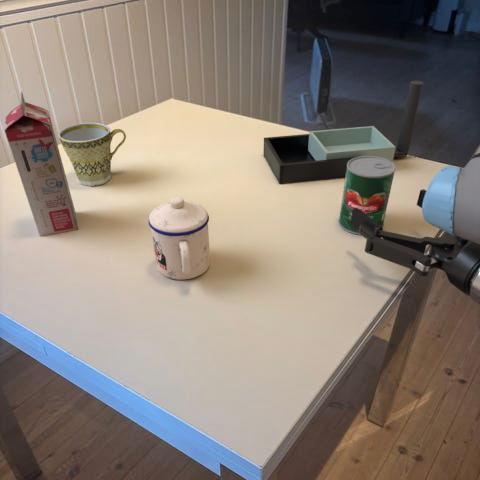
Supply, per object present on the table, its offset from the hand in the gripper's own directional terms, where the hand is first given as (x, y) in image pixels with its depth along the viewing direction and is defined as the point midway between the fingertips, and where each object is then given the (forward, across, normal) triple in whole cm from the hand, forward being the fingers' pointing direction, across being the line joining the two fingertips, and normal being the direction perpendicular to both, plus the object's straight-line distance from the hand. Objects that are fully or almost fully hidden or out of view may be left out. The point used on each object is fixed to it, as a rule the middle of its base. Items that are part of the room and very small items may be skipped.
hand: (387, 206), depth 80 cm
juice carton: (+31, -49, -6) cm, 58 cm away
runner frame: (+31, +5, -6) cm, 32 cm away
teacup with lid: (+7, -34, -6) cm, 35 cm away
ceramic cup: (+46, -37, -7) cm, 60 cm away
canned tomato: (+6, 0, -7) cm, 9 cm away
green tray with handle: (+28, +17, -6) cm, 33 cm away
